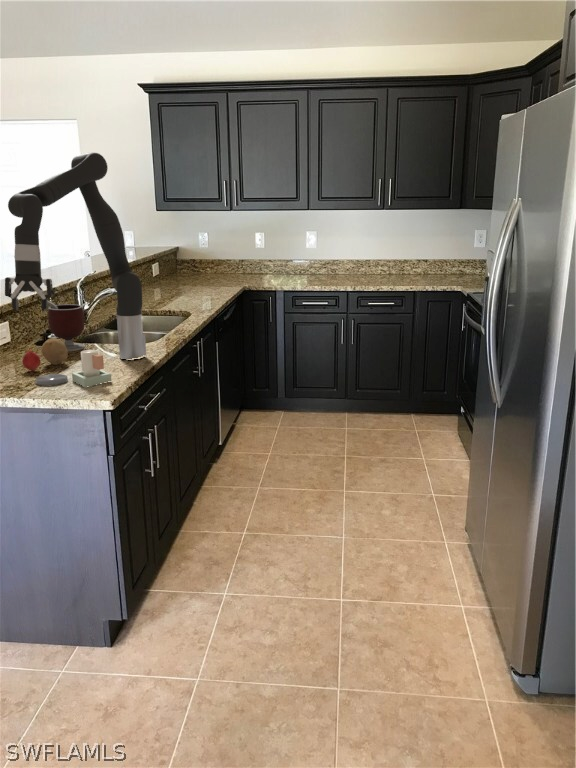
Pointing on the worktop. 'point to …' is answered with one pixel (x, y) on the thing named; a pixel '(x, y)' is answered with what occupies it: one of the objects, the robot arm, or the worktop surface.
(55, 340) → the natural sponge
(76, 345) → the mate gourd
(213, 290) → the worktop surface
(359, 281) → the worktop surface
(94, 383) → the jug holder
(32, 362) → the onion
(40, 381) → the coaster
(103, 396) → the worktop surface
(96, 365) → the jug
